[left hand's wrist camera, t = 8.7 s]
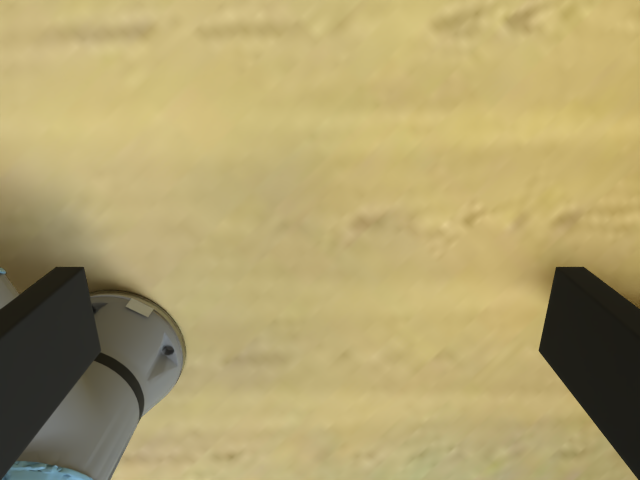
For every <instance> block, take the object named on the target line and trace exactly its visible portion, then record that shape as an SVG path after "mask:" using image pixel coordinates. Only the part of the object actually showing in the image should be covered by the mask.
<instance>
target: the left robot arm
mask: <svg viewBox="0 0 640 480" xmlns="http://www.w3.org/2000/svg"><path fill="white" fill-rule="evenodd" d="M5 274H6V271H5V270H4V269H3V268H1V267H0V480H110V479H111V477H112V475H113V473H114V471H115V469H116V467H117V465H118V463H119V461H120V459H121V457H122V455H123V453H124V451H125V449H126V447H127V445H128V443H129V441H130V439H131V437H132V435H133V433H134V431H135V429H136V427H137V424H138V423H139V421H140V419H141V417H142V416H143V415H144V414H146V413H147V412H148V411H149V410H150V409H151V408H152V407H154V406H155V405H156V404H157V403H158V402H159V401H160V400H162V399H163V398H164V397H165V396H166V395H167V394H168V393H169V392H170V391H171V389H172V388H173V387H174V385H175V384H176V382H177V381H178V379H179V377H180V374H181V372H182V370H183V368H184V364H185V359H186V347H185V342H184V339H183V336H182V333H181V331H180V329H179V328H178V326H177V324H176V323H175V321H174V320H173V319H172V318H171V317H170V315H169V314H168V313H167V312H165V311H164V310H163V309H162V308H161V307H159V306H158V305H157V304H155V303H153V302H152V301H150V300H148V299H146V298H144V297H142V296H139V295H136V294H133V293H130V292H125V291H117V290H103V291H96V292H92V293H89V289H88V285H87V280H86V275H85V270H84V267H56V268H54V269H53V270H52V271H50V272H49V273H48V274H46V275H45V276H44V277H42V278H41V279H40V280H38V281H37V282H36V283H34V284H33V285H32V286H30V287H29V288H28V289H27V290H25V291H24V292H23V293H21V294H19V293H18V291H17V290H16V289H15V287H14V286H13V285H12V283H11V282H10V281H9V279H8V278H7V276H6V275H5ZM539 352H540V353H541V354H542V356H543V357H544V358H545V360H546V361H547V362H548V363H549V365H550V366H551V367H552V369H553V370H554V371H555V373H556V374H557V375H558V376H559V378H560V379H561V380H562V382H563V383H564V384H565V385H566V387H567V388H568V389H569V391H570V392H571V393H572V394H573V396H574V397H575V398H576V400H577V401H578V402H579V404H580V405H581V406H582V407H583V409H584V410H585V411H586V413H587V414H588V415H589V416H590V418H591V419H592V420H593V422H594V423H595V424H596V425H597V427H598V428H599V429H600V431H601V432H602V433H603V435H604V436H605V437H606V438H607V440H608V441H609V442H610V444H611V445H612V446H613V447H614V449H615V450H616V451H617V453H618V454H619V455H620V457H621V458H622V459H623V460H624V462H625V463H626V464H627V466H628V467H629V468H630V469H631V471H632V472H633V473H634V475H635V476H636V477H637V478H638V480H640V309H639V308H637V307H636V306H635V305H633V304H632V303H631V302H629V301H628V300H627V299H625V298H624V297H623V296H621V295H620V294H619V293H617V292H616V291H615V290H613V289H612V288H611V287H610V286H608V285H607V284H606V283H604V282H603V281H602V280H600V279H599V278H598V277H596V276H595V275H594V274H592V273H591V272H590V271H588V270H587V269H586V268H584V267H556V270H555V275H554V280H553V285H552V289H551V294H550V299H549V304H548V308H547V313H546V318H545V323H544V328H543V332H542V337H541V342H540V347H539Z"/></svg>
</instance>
